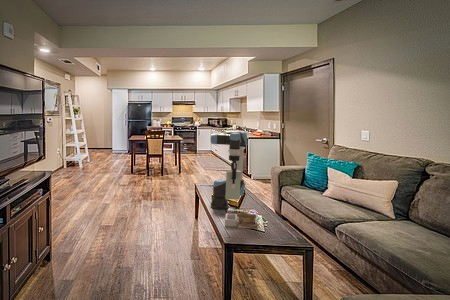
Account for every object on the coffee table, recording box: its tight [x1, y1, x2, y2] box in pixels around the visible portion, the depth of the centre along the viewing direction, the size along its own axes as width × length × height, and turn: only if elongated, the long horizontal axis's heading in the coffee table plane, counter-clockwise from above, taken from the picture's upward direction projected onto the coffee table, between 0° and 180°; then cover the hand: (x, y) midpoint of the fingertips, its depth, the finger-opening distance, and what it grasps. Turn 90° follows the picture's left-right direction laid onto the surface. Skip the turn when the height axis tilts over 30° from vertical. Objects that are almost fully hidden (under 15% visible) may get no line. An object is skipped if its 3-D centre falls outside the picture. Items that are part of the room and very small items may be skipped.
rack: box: [236, 212, 258, 229], centre depth 240 cm, size 14×14×6 cm
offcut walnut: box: [239, 220, 255, 225], centre depth 237 cm, size 4×9×2 cm, turn 109°
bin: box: [224, 213, 237, 228], centre depth 241 cm, size 14×8×5 cm, turn 177°
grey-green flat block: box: [225, 170, 241, 200], centre depth 238 cm, size 3×10×20 cm, turn 93°
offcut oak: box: [242, 218, 252, 222], centre depth 236 cm, size 4×6×2 cm, turn 113°
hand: (232, 187), depth 239 cm, fingers closed on grey-green flat block, 3 cm apart
